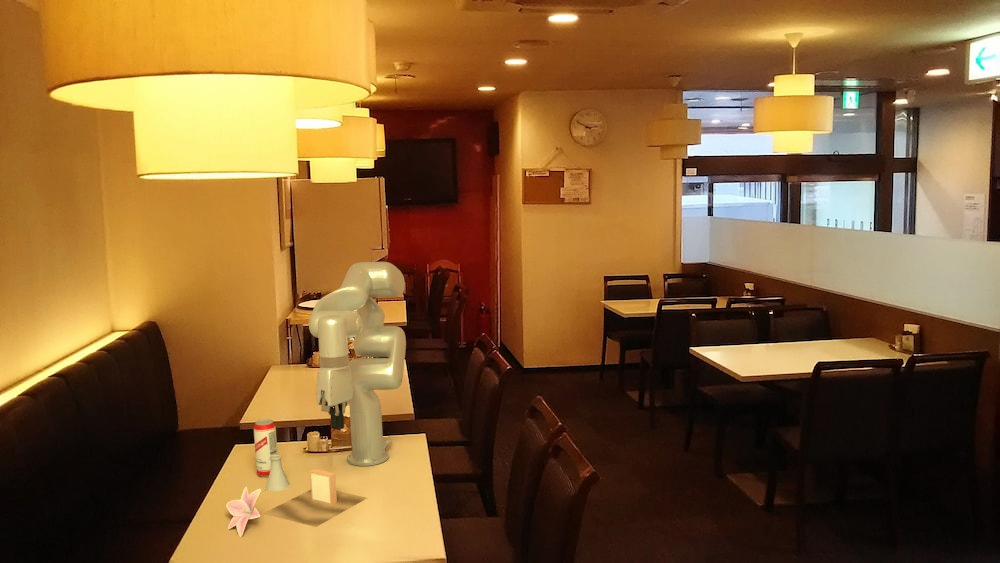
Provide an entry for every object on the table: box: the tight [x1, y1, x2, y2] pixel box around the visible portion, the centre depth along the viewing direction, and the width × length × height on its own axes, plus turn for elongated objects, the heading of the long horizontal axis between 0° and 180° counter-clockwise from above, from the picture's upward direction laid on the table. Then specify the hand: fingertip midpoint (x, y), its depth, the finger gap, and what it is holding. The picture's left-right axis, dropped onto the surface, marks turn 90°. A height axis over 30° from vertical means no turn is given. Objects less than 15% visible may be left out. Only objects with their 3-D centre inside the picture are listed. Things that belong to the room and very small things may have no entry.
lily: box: [225, 486, 262, 538], centre depth 206 cm, size 12×12×10 cm
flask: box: [264, 454, 291, 492], centre depth 228 cm, size 7×7×10 cm
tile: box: [309, 468, 337, 505], centre depth 217 cm, size 2×7×8 cm, turn 60°
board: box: [263, 489, 368, 528], centre depth 215 cm, size 20×18×1 cm
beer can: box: [253, 418, 279, 478], centre depth 241 cm, size 6×6×16 cm
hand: (337, 428), depth 221 cm, fingers closed
